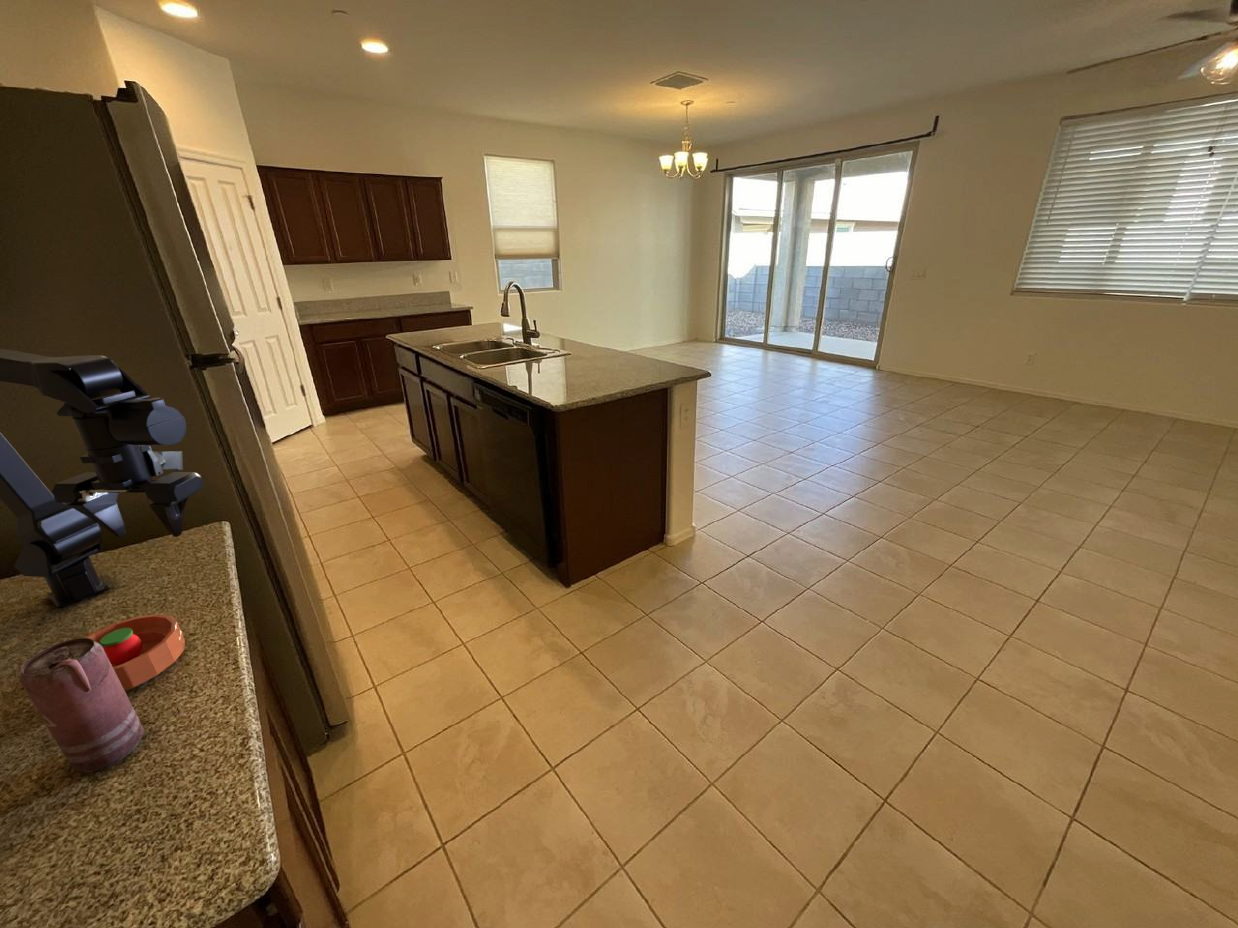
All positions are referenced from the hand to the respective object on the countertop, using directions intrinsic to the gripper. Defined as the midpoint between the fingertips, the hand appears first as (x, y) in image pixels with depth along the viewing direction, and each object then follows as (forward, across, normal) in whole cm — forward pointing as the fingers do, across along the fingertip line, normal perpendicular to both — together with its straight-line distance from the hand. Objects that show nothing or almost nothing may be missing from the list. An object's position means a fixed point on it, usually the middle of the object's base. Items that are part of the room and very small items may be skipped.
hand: (150, 535), depth 80 cm
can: (+12, -17, +28) cm, 35 cm away
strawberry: (+11, -7, +16) cm, 21 cm away
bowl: (+12, -7, +16) cm, 21 cm away
